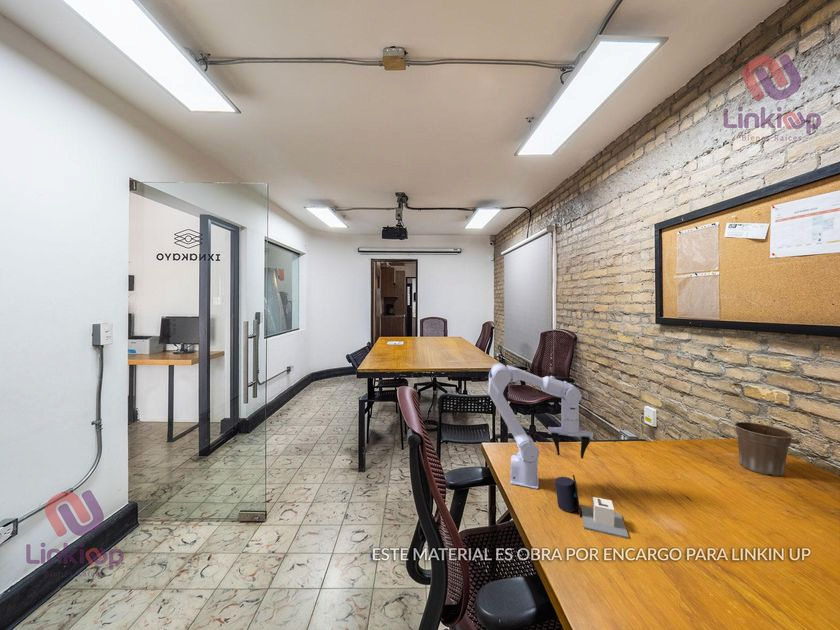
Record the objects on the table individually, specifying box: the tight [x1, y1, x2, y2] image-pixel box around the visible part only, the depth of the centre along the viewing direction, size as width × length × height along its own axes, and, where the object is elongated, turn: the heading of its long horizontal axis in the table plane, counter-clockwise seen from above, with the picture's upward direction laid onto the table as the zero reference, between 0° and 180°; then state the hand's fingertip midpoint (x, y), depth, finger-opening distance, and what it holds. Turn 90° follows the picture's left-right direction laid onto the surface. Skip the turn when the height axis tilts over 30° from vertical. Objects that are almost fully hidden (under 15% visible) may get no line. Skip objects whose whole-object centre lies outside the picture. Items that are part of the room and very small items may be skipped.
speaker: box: [554, 474, 582, 518], centre depth 104 cm, size 8×6×10 cm
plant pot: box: [734, 421, 795, 477], centre depth 130 cm, size 16×16×16 cm
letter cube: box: [592, 496, 615, 527], centre depth 97 cm, size 5×5×5 cm
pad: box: [580, 505, 630, 539], centre depth 97 cm, size 11×11×1 cm
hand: (570, 455), depth 118 cm, fingers open, 7 cm apart
